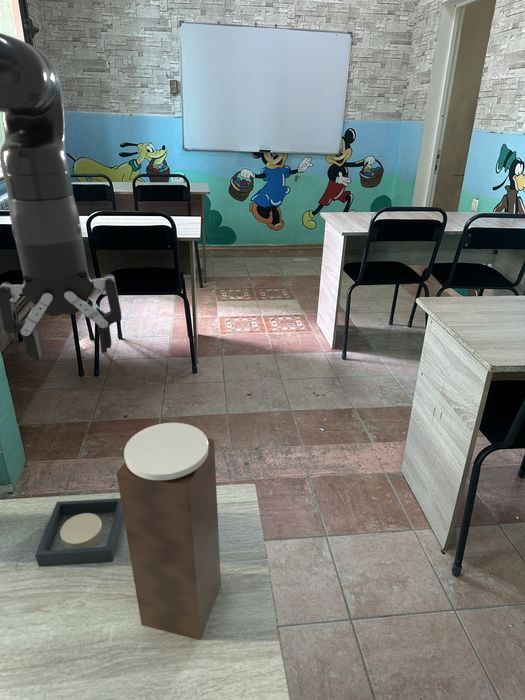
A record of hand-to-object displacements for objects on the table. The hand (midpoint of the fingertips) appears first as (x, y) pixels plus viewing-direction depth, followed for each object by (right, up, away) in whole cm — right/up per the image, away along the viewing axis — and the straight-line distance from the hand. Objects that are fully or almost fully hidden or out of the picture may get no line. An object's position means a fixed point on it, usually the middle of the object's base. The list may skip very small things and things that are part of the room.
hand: (71, 354), depth 65 cm
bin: (-1, -29, +9) cm, 31 cm away
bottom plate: (+16, -11, -13) cm, 23 cm away
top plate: (-2, -29, +9) cm, 30 cm away
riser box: (+15, -34, -1) cm, 38 cm away
